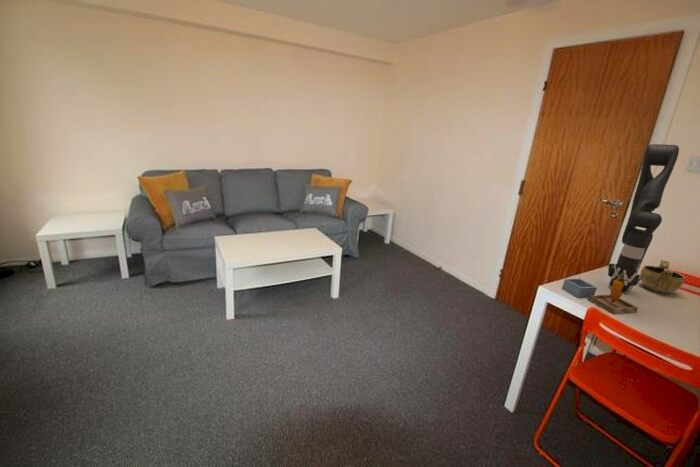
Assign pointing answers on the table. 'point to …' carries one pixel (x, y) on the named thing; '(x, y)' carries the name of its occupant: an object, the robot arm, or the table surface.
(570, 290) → the blue-grey square box
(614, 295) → the carrot
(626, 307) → the tray
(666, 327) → the table surface
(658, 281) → the tan woven basket
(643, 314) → the table surface
